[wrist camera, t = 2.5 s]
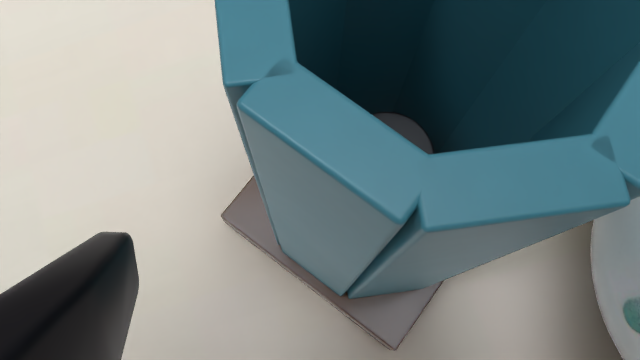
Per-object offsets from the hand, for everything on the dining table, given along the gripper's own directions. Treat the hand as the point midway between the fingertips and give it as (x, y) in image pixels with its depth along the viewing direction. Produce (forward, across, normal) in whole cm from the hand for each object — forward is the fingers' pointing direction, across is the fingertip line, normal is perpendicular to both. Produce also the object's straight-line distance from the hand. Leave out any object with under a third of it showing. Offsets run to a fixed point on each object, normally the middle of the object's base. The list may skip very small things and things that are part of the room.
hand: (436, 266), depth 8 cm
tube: (+9, 0, +4) cm, 10 cm away
